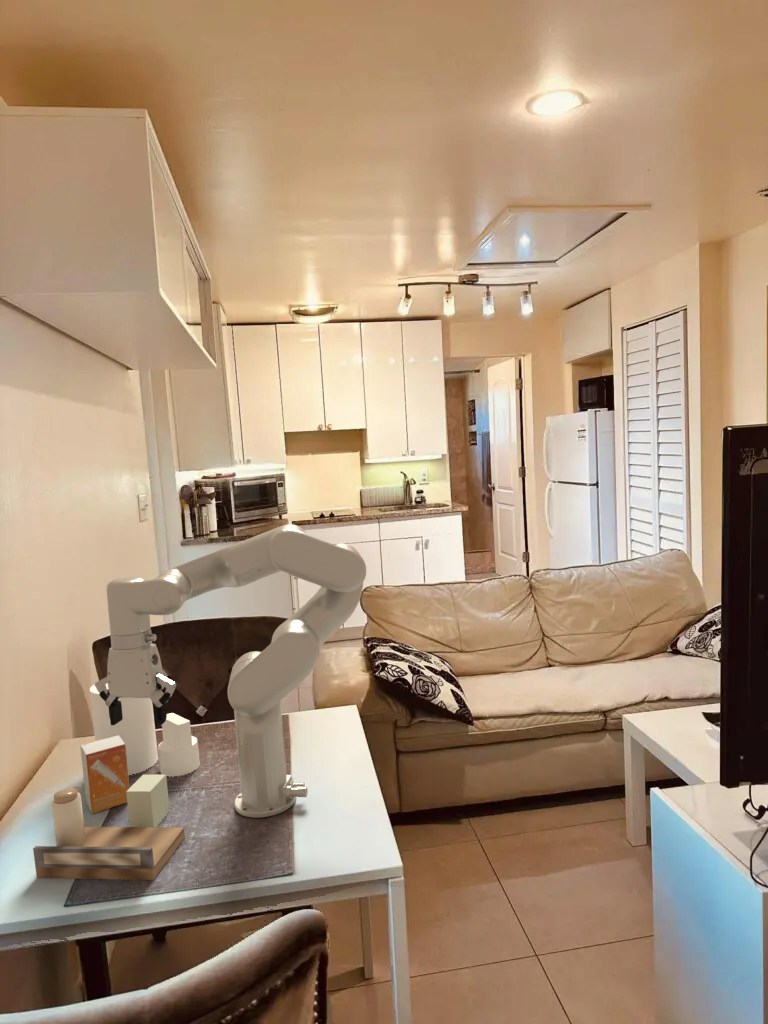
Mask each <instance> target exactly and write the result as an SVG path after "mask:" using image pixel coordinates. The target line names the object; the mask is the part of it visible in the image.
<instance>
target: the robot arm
mask: <svg viewBox="0 0 768 1024" xmlns="http://www.w3.org/2000/svg"><path fill="white" fill-rule="evenodd" d="M280 572H284V573H285V574H288V575H291V576H293V577H295V578H297V579H301V580H304V581H306V582H308V583H312V584H315V585H318V586H319V587H320V588H319V589H318V591H316V593H315V594H314V595H313V596H312V597H311V598H310V599H309V600H307V602H306V603H305V604H304V605H302V606H301V607H300V608H299V609H298V610H296V611H295V612H294V613H293V614H292V615H291V616H289V617H288V618H287V619H286V620H285V621H283V622H282V623H281V624H279V625H278V627H277V628H276V629H275V631H274V632H273V634H272V637H271V642H270V643H269V645H268V646H266V647H265V648H264V649H263V650H261V651H257V650H255V651H249V652H246V653H244V654H243V655H241V656H240V657H239V658H238V659H236V661H235V663H234V664H233V666H232V669H231V672H230V676H229V681H228V686H227V699H228V702H229V704H230V706H231V707H232V709H233V713H234V714H233V715H234V726H235V736H236V739H235V740H236V751H237V759H238V760H237V761H238V770H239V781H240V783H239V784H240V793H239V794H237V796H236V798H235V800H234V809H235V811H236V813H238V814H239V815H241V816H244V817H248V818H253V819H255V818H265V817H266V818H267V817H272V816H275V815H278V814H281V813H283V812H285V811H286V810H288V809H289V808H291V807H292V806H293V805H294V803H295V802H296V800H297V798H307V797H308V791H309V790H308V787H307V786H305V782H295V781H292V775H291V774H288V773H287V765H286V764H287V763H286V753H285V752H286V751H285V741H284V740H285V739H284V731H283V730H284V729H283V728H284V725H283V716H282V715H283V714H282V702H281V701H282V700H283V699H284V698H285V697H286V696H287V695H288V694H289V693H291V692H292V691H293V690H294V689H295V688H296V687H297V686H298V685H299V684H301V682H303V681H304V680H305V679H306V678H307V677H308V676H309V675H310V674H311V672H313V670H314V669H315V668H316V666H317V664H318V661H319V659H320V654H321V653H320V650H321V647H322V646H323V645H324V643H325V642H327V641H329V638H331V637H332V636H333V635H334V634H335V633H336V632H338V630H339V629H340V628H342V626H343V625H344V624H345V623H346V622H347V621H348V620H349V619H350V617H352V615H353V613H354V612H355V611H356V609H357V607H358V604H359V602H360V599H361V597H362V593H363V592H362V591H363V588H364V587H363V586H364V581H365V580H366V576H367V565H366V563H365V560H364V558H363V557H362V555H361V554H360V552H359V551H358V550H357V549H356V548H355V547H354V546H352V545H350V544H349V543H348V544H347V543H337V544H333V543H330V542H328V541H325V540H322V539H320V538H318V537H316V536H315V537H314V536H312V535H310V534H308V533H307V531H305V530H304V528H302V527H301V526H299V525H296V524H292V523H291V524H283V525H281V526H277V527H275V528H273V529H270V530H267V531H264V532H262V533H260V534H258V535H255V536H252V537H250V538H247V539H245V540H243V541H239V542H237V543H235V544H232V545H229V546H226V547H224V548H221V549H219V550H216V551H214V552H212V553H209V554H206V555H204V556H201V557H197V558H195V559H193V560H190V561H187V562H185V563H184V562H183V564H180V565H177V566H174V567H171V568H169V569H167V570H165V571H163V572H161V573H160V574H159V575H158V576H156V577H154V578H153V579H149V580H145V579H144V578H142V577H139V576H128V577H120V578H116V579H115V578H114V579H113V580H111V581H109V582H108V583H107V586H106V599H107V610H108V611H107V613H108V620H109V621H108V622H109V632H110V644H111V645H110V646H111V647H110V648H108V649H109V650H108V655H107V666H106V667H107V673H106V676H105V677H104V678H102V679H100V680H98V681H97V682H94V684H95V687H96V688H97V690H98V692H99V693H100V694H99V695H100V697H101V698H102V699H103V700H104V701H105V704H106V705H107V706H109V718H110V722H111V725H115V724H117V723H118V722H120V721H121V720H122V719H123V717H122V705H121V701H118V699H119V698H120V697H124V698H150V699H151V700H152V704H154V705H155V707H153V714H154V724H155V728H160V727H161V726H162V724H163V723H164V722H165V721H166V718H167V714H168V713H167V703H168V702H169V700H170V699H171V697H172V696H173V695H174V692H175V690H176V687H177V683H176V682H175V681H173V680H172V679H170V678H168V677H167V676H164V673H163V672H164V671H163V665H162V661H161V656H160V653H159V650H158V647H157V644H156V643H153V642H156V640H157V639H158V637H157V634H155V633H152V629H151V619H150V616H151V615H152V616H169V615H173V614H175V613H176V612H178V611H179V610H180V609H181V608H182V606H183V605H184V604H185V602H186V601H189V600H191V599H193V598H196V597H199V596H201V595H203V594H206V593H208V592H211V591H215V590H218V589H222V588H240V587H244V586H247V585H249V584H252V583H254V582H256V581H258V580H261V579H264V578H266V577H269V576H271V575H274V574H276V573H280ZM107 683H108V689H107V688H106V684H107ZM164 688H165V691H164V692H163V690H164Z"/></svg>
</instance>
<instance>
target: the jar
mask: <svg viewBox="0 0 768 1024" xmlns="http://www.w3.org/2000/svg"><path fill="white" fill-rule="evenodd" d="M50 804H51V811H52V812H51V813H52V821H53V827H54V838H55V845H56V846H70V847H82V846H83V845H84V844H85V842H86V837H85V828H84V827H85V821H84V820H85V819H84V811H83V804H82V796H81V793H80V792H78V789H77V788H76V787H67V788H63V789H61V790H59V791H56V792H55V793H54V795H53V799H52V800H51V802H50Z"/></svg>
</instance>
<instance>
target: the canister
mask: <svg viewBox="0 0 768 1024" xmlns="http://www.w3.org/2000/svg"><path fill="white" fill-rule="evenodd" d="M106 688H107V689H108V683H107V684H106ZM99 694H100V693H99V692H98V690H97V688H96V687H95V683H94V684H93V685H90V688H89V696H90V704H91V712H92V724H93V731H94V732H93V733H94V739H95V740H94V742H95V741H98V740H102V739H107V738H111V737H114V736H118V735H119V736H120V737H121V739H122V740H123V742H124V743H125V747H126V757H127V767H128V777H129V775H131V776H133V775H132V774H135V775H137V774H136V773H138V774H140V773H139V772H141V773H143V772H145V771H147V770H149V769H151V768H152V767H153V766H154V764H155V763H156V764H157V763H158V761H159V755H158V746H157V743H158V742H157V735H156V726H155V723H154V711H153V709H154V707H153V706H154V705H153V704H154V703H153V702H152V700H151V699H150V698H124V697H120V698H119V699H118V701H121V705H122V717H123V719H122V720H121V721H120V722H118V723H117V724H115V725H111V722H110V718H109V706H107V705H106V704H105V701H104V700H103V699H102V698H101V697H100V695H99ZM157 760H158V761H157ZM156 764H155V765H156ZM150 767H151V768H150ZM148 768H149V769H148ZM146 769H147V770H146ZM142 771H143V772H142Z"/></svg>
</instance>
